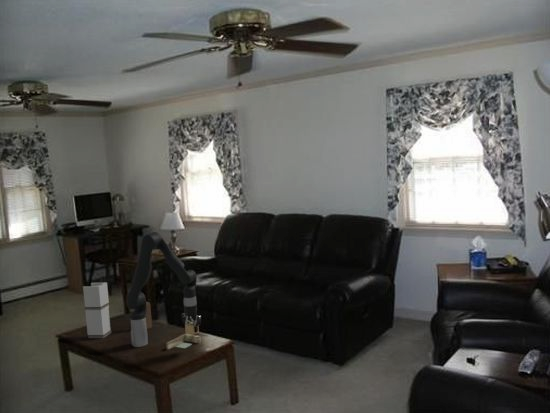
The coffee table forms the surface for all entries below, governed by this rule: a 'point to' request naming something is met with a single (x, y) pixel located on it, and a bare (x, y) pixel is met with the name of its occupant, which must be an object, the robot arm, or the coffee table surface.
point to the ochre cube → (190, 328)
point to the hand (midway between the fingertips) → (192, 331)
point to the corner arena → (183, 338)
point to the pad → (183, 345)
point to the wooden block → (148, 316)
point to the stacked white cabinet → (97, 310)
